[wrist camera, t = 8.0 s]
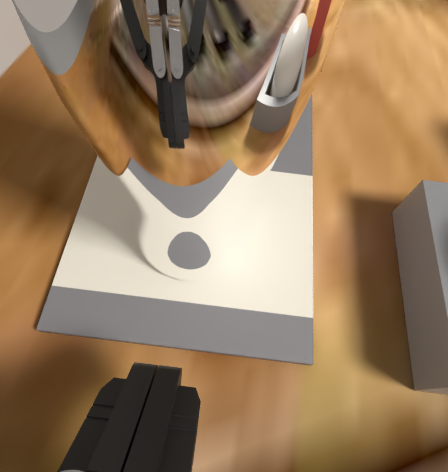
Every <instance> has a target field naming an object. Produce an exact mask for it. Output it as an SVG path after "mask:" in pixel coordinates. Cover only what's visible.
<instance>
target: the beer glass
mask: <svg viewBox="0 0 448 472" xmlns="http://www.w3.org/2000/svg"><path fill="white" fill-rule="evenodd" d="M12 1H13V3H14V6H15V8H16V10H17V13H18V15H19V17H20V20H21V22H22V24H23V26H24V28H25V31H26V33H27V35H28V38H29V40H30V42H31V44H32V46H33V48H34V50H35V52H36V54H37V56H38V58H39V60H40V61H41V63H42V65H43V67H44V69H45V71H46V73H47V75H48V77H49V79H50V81H51V83H52V85H53V87H54V89H55V91H56V93H57V95H58V96H59V98H60V100H61V101H62V103H63V104H64V106H65V108H66V109H67V111H68V112H69V114H70V115H71V117H72V119H73V120H74V122H75V123H76V125H77V126H78V128H79V130H80V131H81V133H82V134H83V136H84V137H85V139H86V140H87V142H88V143H89V144H90V146H91V147H92V149H93V150H94V151H95V153H96V154H97V155H98V157H99V158H100V160H101V161H102V162H103V164H104V165H105V166H106V168H107V169H108V170H109V172H110V173H111V174H112V176H113V177H114V178H115V180H116V181H117V182H118V184H119V185H120V186H121V188H122V189H123V191H124V192H125V194H126V195H127V196H128V198H129V200H130V202H131V204H132V207H133V212H134V223H133V229H134V237H135V241H136V244H137V247H138V249H139V251H140V252H141V254H142V256H143V257H144V258H145V259H146V261H147V262H148V263H149V264H150V265H152V266H153V267H154V268H155V269H157V270H158V271H160V272H161V273H163V274H165V275H167V276H170V277H173V278H176V279H180V280H186V281H202V280H208V279H212V278H216V277H218V276H221V275H223V274H225V273H227V272H228V271H230V270H231V269H233V268H234V267H235V266H237V265H238V264H239V263H240V262H241V261H242V260H243V258H244V257H245V256H246V254H247V253H248V251H249V249H250V248H251V245H252V243H253V240H254V236H255V231H256V215H255V198H256V195H257V193H258V191H259V189H260V187H261V185H262V183H263V182H264V180H265V178H266V177H267V175H268V174H269V172H270V170H271V169H272V167H273V165H274V164H275V162H276V160H277V159H278V157H279V155H280V153H281V152H282V150H283V148H284V147H285V145H286V143H287V141H288V140H289V138H290V136H291V134H292V133H293V131H294V129H295V127H296V125H297V123H298V121H299V119H300V117H301V115H302V113H303V111H304V109H305V107H306V105H307V103H308V101H309V99H310V97H311V95H312V93H313V90H314V88H315V85H316V82H317V80H318V77H319V75H320V72H321V69H322V67H323V64H324V62H325V59H326V56H327V54H328V51H329V49H330V46H331V43H332V41H333V38H334V35H335V32H336V29H337V25H338V22H339V19H340V16H341V13H342V10H343V6H344V3H345V0H12Z"/></svg>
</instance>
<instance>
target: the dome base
mask: <svg viewBox="0 0 448 472" xmlns="http://www.w3.org/2000/svg"><path fill="white" fill-rule="evenodd" d="M392 217H393V225H394V233H395V241H396V249H397V257H398V264H399V272H400V280H401V288H402V296H403V304H404V312H405V320H406V328H407V336H408V344H409V352H410V360H411V368H412V376H413V383H414V391H422V392H430V393H438V394H446V395H448V183H443V182H435V181H427V180H422V181H421V182H420V183H419V184H418V186H417V187H416V188H415V189H414V190H413V191H412V192H411V193H410V194H409V195H408V196H407V197H406V198H405V199H404V200H403V201H402V202H401V203H400V204H399V205H398V207H397V208H396V209H395V210H394V211H393V212H392Z"/></svg>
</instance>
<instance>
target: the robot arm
mask: <svg viewBox="0 0 448 472" xmlns="http://www.w3.org/2000/svg"><path fill="white" fill-rule="evenodd" d="M181 376H182V368H177V367H169V366H161V365H159V366H158V365H152V364H144V363H136V362H135V363H134V364H133V366H132V368H131V370H130V372H129V375H128V377H127V379H120V378H113V379H112V380H111V381H110V382H108V383H107V384H106V385H105V386H104V387H103V388H102V389H101V390H100V392H99V393H98V395H97V397H96V399H95V401H94V403H93V406H92V407H91V409H90V411H89V413H88V415H87V418H86V419H85V420H84V422H83V424H82V426H81V428H80V430H79V432H78V434H77V436H76V438H75V440H74V441H73V443H72V445H71V447H70V449H69V451H68V453H67V455H66V457H65V459H64V461H63V463H62V464H61V466H60V468H59V470H58V471H57V472H192V465H193V458H194V451H195V443H196V435H197V427H198V418H199V410H200V399H199V396H198V393H197V390H196V388H193V387H185V386H181Z"/></svg>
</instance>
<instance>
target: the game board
mask: <svg viewBox="0 0 448 472" xmlns="http://www.w3.org/2000/svg"><path fill="white" fill-rule="evenodd" d="M255 215H256V231H255V236H254V240H253V243H252V245H251V248H250V249H249V251H248V253H247V254H246V256H245V257H244V258H243V260H242V261H241V262H240V263H239V264H238V265H237V266H235V267H234V268H233V269H231V270H230V271H228V272H227V273H225V274H223V275H221V276H218V277H216V278H212V279H208V280H202V281H186V280H180V279H176V278H173V277H170V276H167V275H165V274H163V273H161V272H160V271H158V270H157V269H155V268H154V267H153V266H152V265H150V264H149V263H148V262H147V261H146V259H145V258H144V257H143V256H142V254H141V252H140V251H139V249H138V247H137V244H136V241H135V237H134V229H133V223H134V212H133V207H132V204H131V202H130V200H129V198H128V196H127V195H126V194H125V192H124V191H123V189H122V188H121V186H120V185H119V184H118V182H117V181H116V180H115V178H114V177H113V176H112V174H111V173H110V172H109V170H108V169H107V168H106V166H105V165H104V164H103V162H102V161H101V160H100V158H99V157H98V156H97V159H96V162H95V164H94V167H93V170H92V173H91V176H90V179H89V181H88V184H87V187H86V190H85V193H84V196H83V198H82V201H81V204H80V207H79V210H78V213H77V215H76V218H75V221H74V224H73V227H72V230H71V232H70V235H69V238H68V241H67V244H66V246H65V249H64V252H63V255H62V258H61V261H60V263H59V266H58V269H57V272H56V275H55V278H54V280H53V283H52V286H51V289H50V292H49V295H48V297H47V300H46V303H45V306H44V309H43V312H42V314H41V317H40V320H39V323H38V326H37V329H36V330H38V331H40V332H47V333H55V334H63V335H71V336H79V337H87V338H95V339H103V340H111V341H119V342H127V343H135V344H143V345H151V346H159V347H167V348H175V349H183V350H191V351H199V352H207V353H215V354H223V355H231V356H239V357H247V358H255V359H263V360H271V361H280V362H288V363H296V364H304V365H313V190H312V95H311V97H310V99H309V101H308V103H307V105H306V107H305V109H304V111H303V113H302V115H301V117H300V119H299V121H298V123H297V125H296V127H295V129H294V131H293V133H292V134H291V136H290V138H289V140H288V141H287V143H286V145H285V147H284V148H283V150H282V152H281V153H280V155H279V157H278V159H277V160H276V162H275V164H274V165H273V167H272V169H271V170H270V172H269V174H268V175H267V177H266V178H265V180H264V182H263V183H262V185H261V187H260V189H259V191H258V193H257V195H256V198H255Z"/></svg>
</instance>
